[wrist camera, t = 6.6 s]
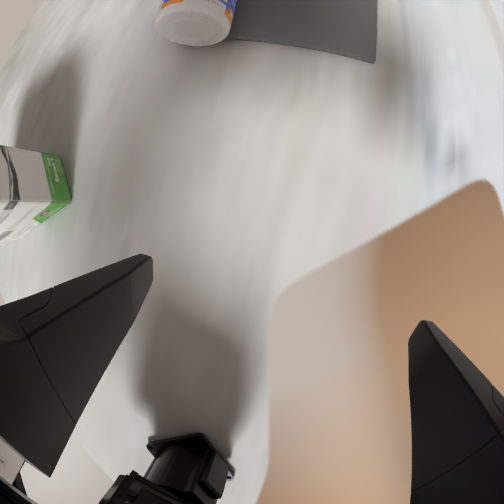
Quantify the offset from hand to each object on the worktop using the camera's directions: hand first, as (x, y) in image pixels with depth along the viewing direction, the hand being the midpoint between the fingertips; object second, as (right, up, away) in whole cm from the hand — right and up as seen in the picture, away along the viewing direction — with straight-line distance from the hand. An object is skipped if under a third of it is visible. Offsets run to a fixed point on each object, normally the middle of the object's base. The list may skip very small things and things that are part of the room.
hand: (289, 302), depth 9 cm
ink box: (-21, +6, +13) cm, 25 cm away
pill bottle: (-5, +16, +7) cm, 19 cm away
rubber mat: (+2, +25, +9) cm, 27 cm away
